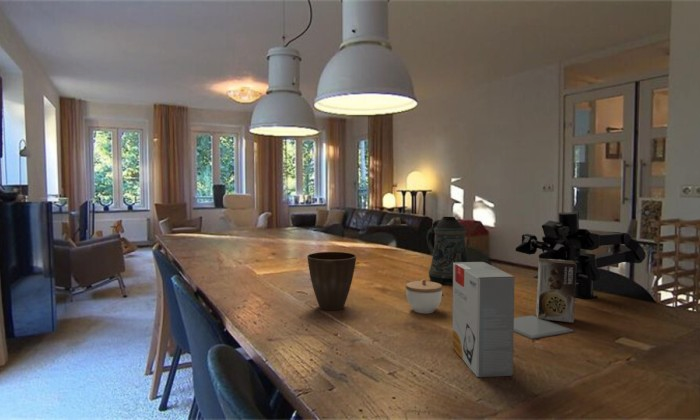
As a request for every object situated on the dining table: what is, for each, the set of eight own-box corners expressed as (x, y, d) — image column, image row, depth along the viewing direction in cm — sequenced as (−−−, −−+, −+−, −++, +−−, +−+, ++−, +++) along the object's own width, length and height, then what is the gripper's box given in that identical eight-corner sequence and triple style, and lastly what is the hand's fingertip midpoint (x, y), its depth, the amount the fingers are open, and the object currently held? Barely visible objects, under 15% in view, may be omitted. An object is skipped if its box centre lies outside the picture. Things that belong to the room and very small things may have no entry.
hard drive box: (451, 348, 99) (451, 261, 98) (483, 347, 100) (484, 261, 99) (476, 378, 84) (477, 276, 83) (514, 376, 84) (516, 275, 83)
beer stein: (465, 287, 158) (466, 219, 157) (415, 282, 168) (415, 217, 167) (476, 279, 173) (477, 216, 171) (429, 274, 182) (429, 215, 181)
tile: (531, 316, 123) (531, 314, 123) (574, 331, 110) (574, 330, 110) (492, 322, 118) (492, 320, 118) (531, 339, 105) (531, 337, 105)
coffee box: (570, 317, 122) (573, 260, 122) (573, 323, 116) (577, 263, 116) (535, 313, 125) (538, 257, 125) (537, 318, 119) (540, 260, 119)
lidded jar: (419, 303, 137) (420, 274, 137) (449, 310, 129) (449, 279, 129) (398, 310, 130) (398, 279, 129) (428, 318, 122) (428, 285, 121)
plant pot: (363, 303, 137) (363, 253, 136) (343, 316, 124) (343, 260, 123) (322, 298, 143) (322, 250, 142) (298, 310, 130) (297, 257, 129)
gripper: (540, 216, 148) (505, 222, 141) (590, 225, 131) (553, 233, 125) (539, 248, 150) (504, 255, 143) (588, 261, 133) (552, 270, 127)
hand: (527, 252), depth 134 cm, fingers open, 9 cm apart
